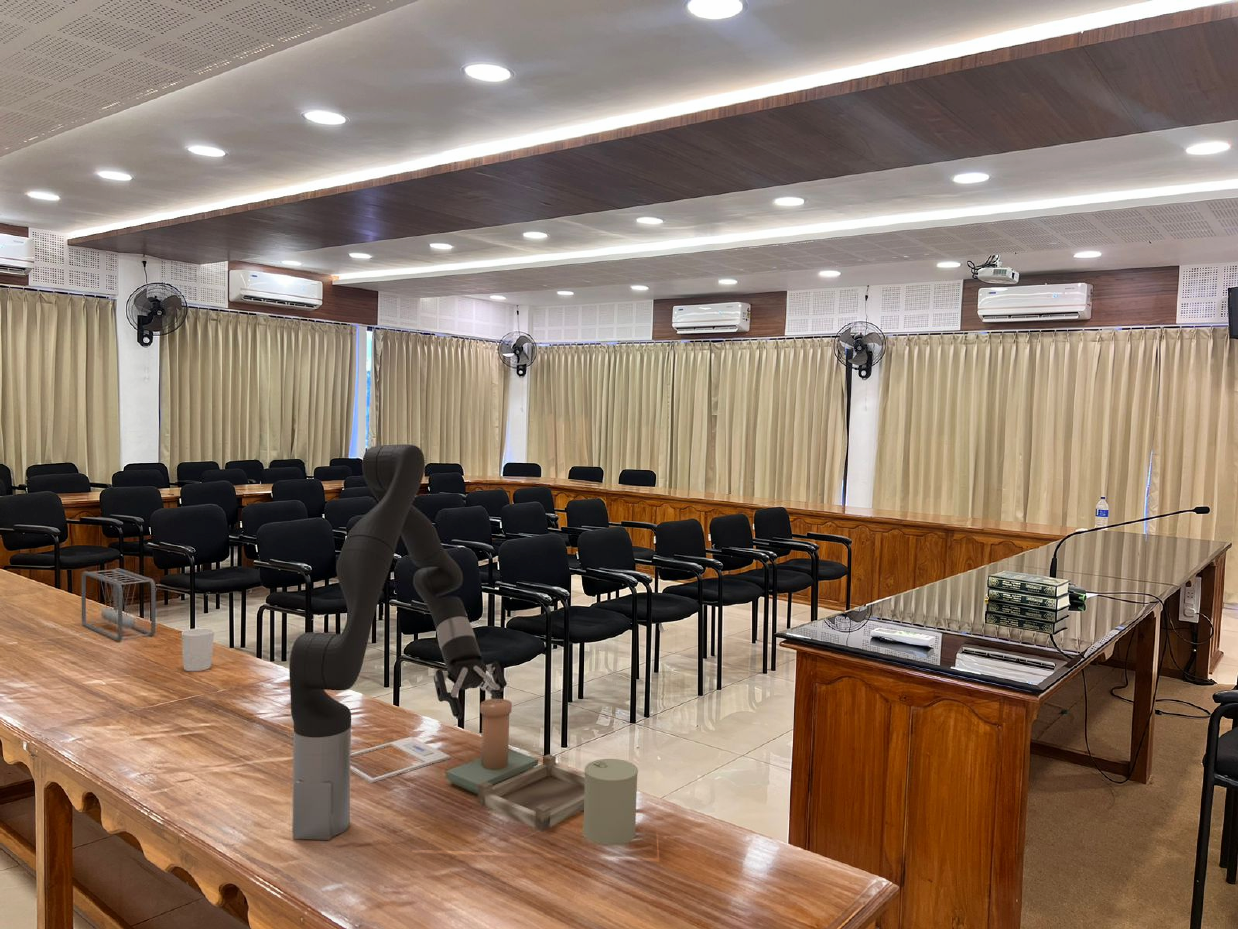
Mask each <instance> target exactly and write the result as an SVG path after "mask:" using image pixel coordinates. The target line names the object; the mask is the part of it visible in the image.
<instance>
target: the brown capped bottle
mask: <svg viewBox="0 0 1238 929" xmlns="http://www.w3.org/2000/svg"><path fill="white" fill-rule="evenodd" d="M512 705H513V703H512V702H511V701H510V700H508V699H504V698H502V699H491V698H489V699H486V700H483V701H481V702H480V707H479V708H480V714H482V715H481V716H482V717H481V718H482V720H481V721H482V722H481V754H480V755H481V756H480V758H481V766H482V767H483V768H486V769H491V770H497V769H502V768H505V767H507V766H508V751H509V749H510V747H509V746H510V745H509V744H510V742H509V740H510V714H511V713H512V711H513V710H512V708H513V706H512Z"/></svg>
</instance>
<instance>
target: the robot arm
mask: <svg viewBox="0 0 1238 929" xmlns="http://www.w3.org/2000/svg"><path fill="white" fill-rule="evenodd" d="M425 462H426V460H425V455H424V452H423V451H422V449H421V448H420V447H418V446H417V445H414V444H406V443H405V444H403V443H402V444H386V445H385V444H384V445H382V444H381V445H375V446H372V447H369V448H368V449H367V450H366V451H365V453H364V455H363V457H362V462H361V468H362V476H363V478H364V480H365V483H366V485H367V486H368V488H369V490H370V491H371V493H372V494H373V496H374V497H375V498H376V500H377V502H378V503H377V504H376V505H375V506H374V507H373V508H372V509H370V510H369V511H368V512H367V513H365V514H364V516H363V517H362V518H360V519H359V520H358V521H357V522H356V523H355V524H354V525H353V526H352V528H350V530H349V531H348V534H346V536H345V539H344V541H343V545H342V546H341V547H342V548H341V550H340V553H339V555H338V557H337V561H336V565H335V567H336V576H337V580H338V583H339V586H340V588H341V591H342V594H343V597H344V601H345V604H346V609H347V617H346V622H345V626H344V628H343V630H342V632H341V633H329V632H303V633H302V634H300V635H299V636H298V637H297V638H296V639H295V641H294V642H293V646H292V648H291V650H290V651H291V652H290V655H289V663H288V664H289V668H288V670H289V675H288V676H289V689H290V690H289V691H290V695H289V696H290V714H291V718H292V722H293V743H292V744H293V746H292V747H293V748H292V752H293V753H292V756H293V757H292V824H291V825H292V828H291V829H292V839H295V840H316V841H317V840H318V841H329V840H330V841H331V839H332V838H333V837H335V836H338V835H340V834H342V833H343V832H345V831H347V829H348V828H349V827H350V823H351V820H350V819H351V816H350V815H351V770H350V765H351V757H350V755H351V753H352V752H351V750H352V749H351V746H352V745H351V744H352V712H351V710H350V709H351V708H349V707H348V706H347V705H345V704H344V703H341V702H340V701H337V700H336V699H334V698H333V697H331V696H330V695H329V694H328V693H327V692H326V691H347V690H349V689H351V688H352V687H353V686H354V685H355V684H356V682H357V680H358V679H359V675H360V673H361V670H362V667H363V663H364V659H365V655H366V650H367V648H368V643H369V638H370V634H371V629H372V625H373V621H374V616H375V613H376V610H377V606H378V603H379V600H380V597H381V594H382V591H383V588H384V585H385V582H386V580H387V577H388V574H389V573H390V572H389V571H390V569H391V566H392V562H393V559H394V557H395V553H396V549H397V544H398V541H399V538H400V537H401V539H402V540H403V543H404V545H405V548H406V549H407V552H408V555H409V557H410V558H411V561H412V563H413V565H415V566H416V567H418V568H420V569H417V571H415V573H414V575H413V580H412V584H413V588H414V589H415V591H416V592H417V594H418V595H419V597H420V598H421V600H422V601H423V602H424V604H425V605H426V607H427V608H428V611H429V612H430V615H431V617H432V620H433V624H434V627H435V631H436V635H437V641H438V646H439V649H440V651H441V655H442V658H443V661H444V664H445V668H446V670H442V669H441V668H438V669H437V670H436V671H435V674H434V675H433V677H432V678H433V682H434V685H435V686H434V687H435V692H436V695H437V699H438V702H441V703H443V702H447V703H449V707H450V710H451V713H452V716H453V717H454V718H455V717H456V719H457V720H460V719H462V717H463V715H464V712H463V708H462V705H461V701H460V697H458V693H459V691H460V689H461V690H463V691H466V690H468V689H477V688H480V689H481V690H482V691H486V692H487V693H488V694H489V695H491V696H490V699H503V696H502V695H501V692H503V691H504V689H505V688H506V686H507V685H508V684H507V681H506V678H505V675H504V673H503V671H502V668H501V665H500V663H499V661H497V660H494V661H493V662H492V663H489V664H485V663H484V660H483V658H482V654H481V650H480V647H479V644H478V642H477V638H476V634H475V632H474V629H473V627H472V625H471V623H470V620H469V618H468V614H467V612H466V608H465V606H464V603H463V600H461V598H460V597H458V596H454V595H453V596H452V595H450V596H443V595H445V594H447V593H451V592H453V591H456V590H458V589H459V588H460V587H461V586H462V584H463V582H464V576H463V572H462V570H461V568H460V566H459V564H458V563H457V562H456V561H455V560H454V559H453V558H452V557H451V556H450V555H449V553H448V552H447V551H446V550H445V548H444V547H443V544H442V542H441V540H440V537H439V534H438V532H437V530H436V528H435V526H434V524H433V523H432V521H431V520H430V518H428V516H426V515H425V514H424V513H423V512H421V510H419V509H418V508H417V507H415V506H414V505H413V502H414V501H415V498H416V496H417V494H418V492H419V489H420V488H421V484H422V481H423V478H424V474H425V468H426V466H425V465H426V463H425ZM441 596H442V597H441ZM487 672H488V674H487ZM491 676H492V677H491ZM447 679H448V680H449V681H451V682H452V683H453V685H452V688H451V691H448V689H447V685H446V680H447Z"/></svg>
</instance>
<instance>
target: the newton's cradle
mask: <svg viewBox="0 0 1238 929" xmlns="http://www.w3.org/2000/svg"><path fill="white" fill-rule="evenodd" d="M105 572H108V573H107V575H108V574H111V572H112V575H108V576H107V575H104V574H102V573H105ZM109 572H110V573H109ZM99 573H100V574H99ZM118 575H119V580H118ZM87 576H88V577H90V578H93V579H96V580H98V581H100V584H101V588H102V593H103V598H104V603H105V607H106V608H104V609H103V610H102V611H101V613H100V614H101V615H100V616H101V618H102V619H104V620H105V621H99V622H98V621H97V622H91V623H87V619H86V618H87V616H86V614H87V613H86V612H87V610H86V609H87V608H86V607H87V604H86V602H87V600H86V599H87V598H86V597H87V596H86V592H87V590H86V589H87V588H86V587H87V586H86V585H87V584H86V582H87V581H86V580H87ZM109 576H112V577H109ZM124 577H125V578H124ZM127 578H130V579H129V580H128V579H127ZM123 579H124V581H122V580H123ZM132 580H133V581H132ZM127 581H128V582H127ZM102 582H104V583H105V587H106V592H107V596H108V597H107V598H108V600H109V606H108V605H107V600H106V597H105V592H104V587H103V583H102ZM139 583H150V589H151V590H150V593H151V594H150V606H151V607H150V616H151V617H150V619H151V620H150V630H146V629H145V628H142V627H140V626H137V625H136V619H135V618H134V617H133V616H131V613H132V612H131V611H132V607H133V606H132V605H133V603H131V604H130V611H129V615H128V614H127V608H126V607H127V603H128V596H129V592H130V586H131V584H134V589H133V592H132V593H133V594H132V598H131V599H132V600H131V602H133V600H134V595H135V590H136V585H137V584H139ZM107 584H109V585H110V588H111V595H110V596H109V590H108V585H107ZM122 585H123V587H122ZM125 585H128V590H127V595H126V596H127V597H126V600H124V590H125ZM112 599H113V602H112ZM111 602H112V603H113V607H112V605H111ZM123 606H124V610H123ZM105 623H113V624H115V625H117V636H116V635H113V634H111V633H109V632H107V631H105V630H102V629H100V628H99V627H96V626H94V625H98V624H99V625H100V624H105ZM81 624H82V626H83V627H85V628H87V629H90V630H91V631H94V632H96V633H98V634H100V635H103V637H104V636H105V637H107V638H109V639H111V640H112V641H115V642H120V641H122V640H127V639H134V638H139V637H145V636H149V637H152V636H154V635H155V633H156V582H155V581H154V579H153V578H150V577H148V576H147V577H146V576H145V575H144V576H143V575H141V574H137V573H136V572H135V573H134V572H131V571H128V570H126V569H122V568H119V567H115V569H106V570H104V569H103V570H98V571H97V570H95V571H87V570H86V571H83V572H82V573H81ZM123 628H124V629H127V630H128V629H132V630H134V631H137V632H139V633H142V634H140V635H133V636H127V637H123Z"/></svg>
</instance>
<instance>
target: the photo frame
mask: <svg viewBox="0 0 1238 929" xmlns="http://www.w3.org/2000/svg"><path fill="white" fill-rule="evenodd" d="M387 746H388V747H392V746H394V747H395V749H396V748H397V750H398V749H400V750H402V751H403V752H402V751H401V752H402V753H404V752H405V753H404V754H406V753H408V754H410V755H411V756H414V757H415V758H417V759H418V760H417V759H416V760H417V761H419V760H421V761H422V762H423V763H422V762H421V763H418V764H414V765H412V766H411V765H410V766H408V767H405V768H402V769H400V770H399V769H398V770H395V771H392V772H389V773H386V774H382V775H379V776H376V777H371V776H370V775H367V774H366V773H365V772H363V771H362V770H359V769H357V768H356V767H355V766H352V765H351V764H350V772H353V773H354V774H356V775H357V776H359V777H361V778H362V779H363V780H366V781H368V782H369V783H371V784H372V783H376V782H378V781H382V780H385V779H389V778H392V777H395V776H398V775H397V774H399V773H402V774H404V773H403V772H405V771H408V770H412V771H414V770H413V769H415V770H417V769H416V768H418V767H421V768H424V767H423V766H425V767H427V766H426V765H428V766H430V765H429V764H431V765H433V764H432V763H434V764H436V763H437V764H438V763H440V761H441V762H443V761H442V760H444V761H447V760H449V758H450V759H451V756H450V755H449V754H447V753H445V752H443V751H441V750H439V749H437V748H435V747H433V746H431V745H429V744H427V743H425V742H422V741H421V740H419V739H417V738H415V737H413V736H409V737H405V738H401V739H398V740H394V741H391V742H386V743H384V744H380V745H377V746H373V747H369V748H368V747H367V748H365V749H362V750H357V751H356V752H351V755H350V756H353V757H357V756H359V755H358V754H360V755H362V754H361V753H363V754H366V752H367V753H370V752H369V751H371V752H373V751H372V750H374V751H377V750H376V749H378V750H381V749H384V747H385V748H388V747H387ZM394 747H393V748H394ZM400 750H399V751H400ZM411 756H410V757H411ZM415 758H414V759H415ZM418 769H419V768H418ZM408 772H409V771H408ZM405 773H406V772H405ZM399 775H400V774H399ZM388 777H389V778H388Z"/></svg>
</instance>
